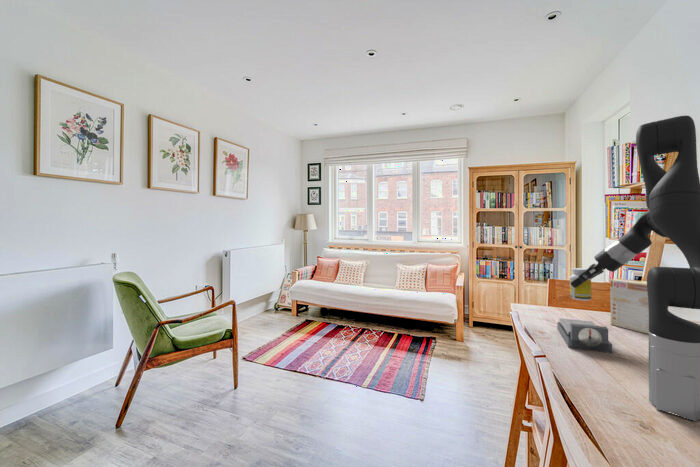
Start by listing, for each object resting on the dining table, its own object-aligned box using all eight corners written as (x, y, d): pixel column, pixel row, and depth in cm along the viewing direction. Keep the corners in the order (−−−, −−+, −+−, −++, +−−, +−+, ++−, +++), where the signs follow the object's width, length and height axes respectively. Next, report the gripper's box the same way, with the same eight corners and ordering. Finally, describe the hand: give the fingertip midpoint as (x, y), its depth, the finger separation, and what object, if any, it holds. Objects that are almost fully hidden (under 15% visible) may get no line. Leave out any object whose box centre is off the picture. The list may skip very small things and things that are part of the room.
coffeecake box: (666, 333, 115) (666, 283, 114) (656, 336, 112) (656, 285, 112) (619, 322, 129) (619, 277, 128) (609, 324, 126) (609, 279, 125)
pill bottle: (595, 301, 109) (595, 270, 109) (575, 300, 111) (575, 270, 111) (585, 297, 116) (584, 267, 116) (566, 296, 117) (566, 267, 117)
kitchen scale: (612, 353, 99) (612, 330, 98) (568, 348, 104) (568, 325, 104) (593, 333, 117) (593, 313, 117) (557, 329, 122) (557, 310, 122)
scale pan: (606, 339, 102) (606, 335, 102) (568, 334, 107) (568, 331, 107) (592, 324, 117) (592, 321, 117) (559, 321, 122) (559, 318, 122)
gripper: (609, 246, 112) (572, 274, 121) (601, 249, 103) (561, 279, 112) (628, 261, 108) (588, 289, 117) (621, 265, 99) (578, 295, 108)
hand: (575, 284), depth 114 cm, fingers closed on pill bottle, 6 cm apart
